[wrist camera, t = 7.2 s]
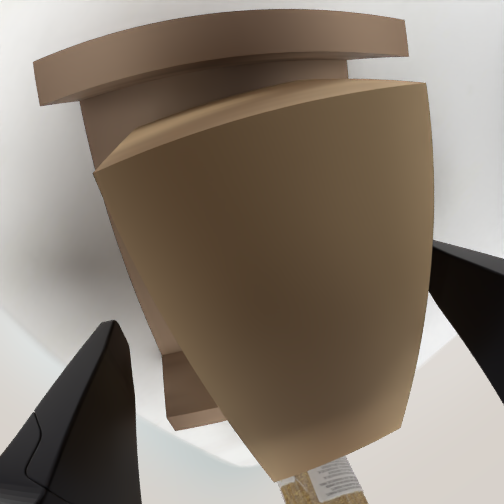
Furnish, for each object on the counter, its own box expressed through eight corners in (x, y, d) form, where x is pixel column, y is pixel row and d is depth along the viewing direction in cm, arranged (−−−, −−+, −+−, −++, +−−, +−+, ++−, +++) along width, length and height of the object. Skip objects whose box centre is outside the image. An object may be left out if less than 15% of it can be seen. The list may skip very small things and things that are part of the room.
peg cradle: (335, 34, 10) (404, 20, 7) (343, 315, 18) (382, 369, 14) (78, 71, 9) (32, 62, 5) (168, 362, 16) (175, 430, 12)
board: (297, 79, 8) (425, 82, 4) (340, 336, 13) (400, 427, 9) (136, 128, 7) (92, 173, 3) (239, 375, 13) (274, 482, 8)
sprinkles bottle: (237, 410, 20) (298, 595, 8) (289, 373, 19) (380, 569, 7) (279, 425, 22) (341, 578, 10) (326, 392, 21) (409, 550, 10)
